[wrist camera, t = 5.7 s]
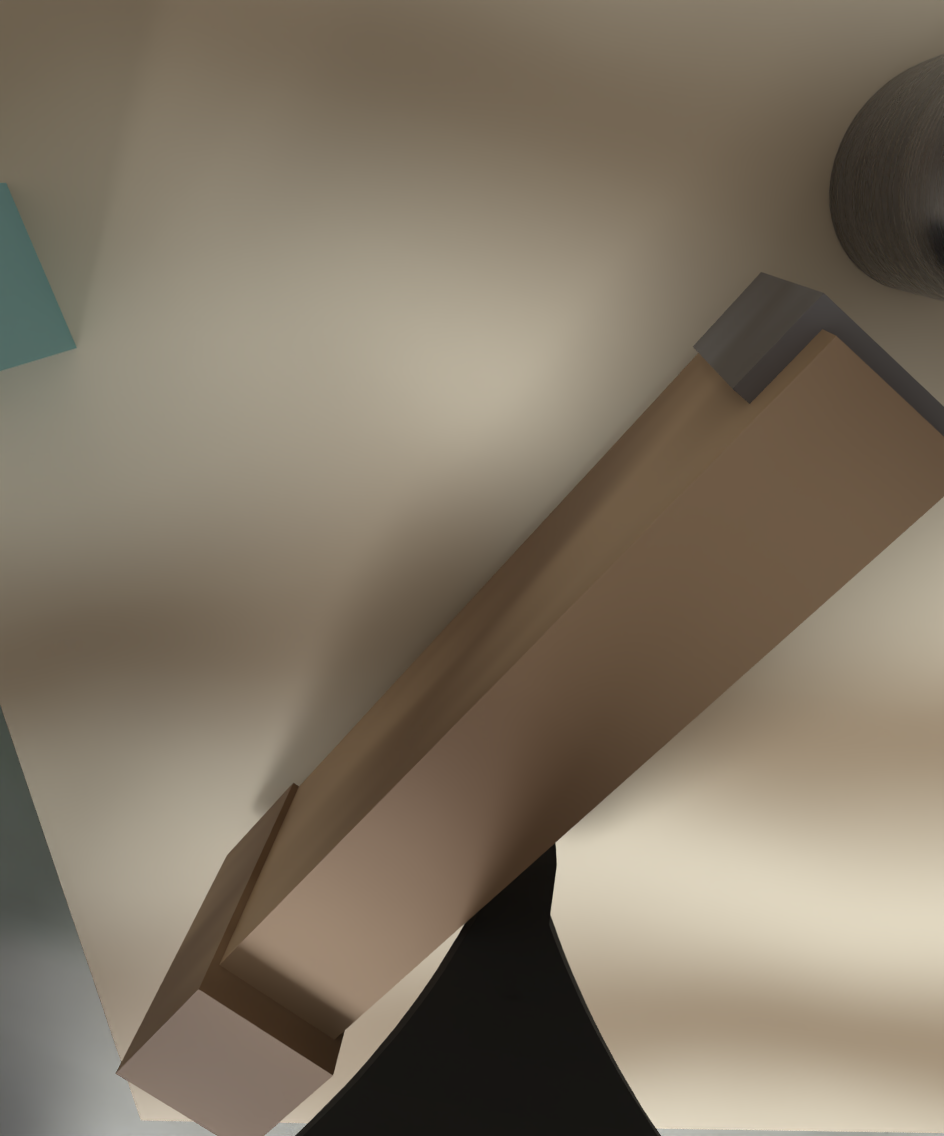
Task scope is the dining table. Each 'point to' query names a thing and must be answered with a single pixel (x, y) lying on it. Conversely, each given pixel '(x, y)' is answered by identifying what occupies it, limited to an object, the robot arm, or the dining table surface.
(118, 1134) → the dining table surface
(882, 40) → the board
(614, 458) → the tan wooden bar
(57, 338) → the post
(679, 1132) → the dining table surface
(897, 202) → the hinge post
